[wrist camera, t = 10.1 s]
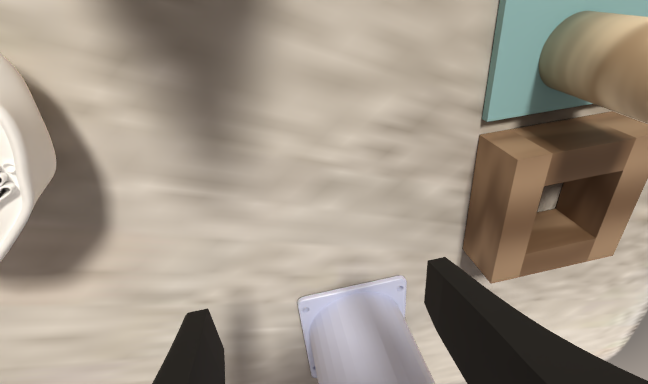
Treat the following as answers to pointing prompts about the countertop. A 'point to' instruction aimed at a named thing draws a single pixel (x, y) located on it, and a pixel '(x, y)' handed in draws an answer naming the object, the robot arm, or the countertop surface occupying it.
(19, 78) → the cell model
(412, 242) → the countertop surface
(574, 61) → the maple plug
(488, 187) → the walnut block
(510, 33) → the teal mat
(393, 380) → the robot arm
